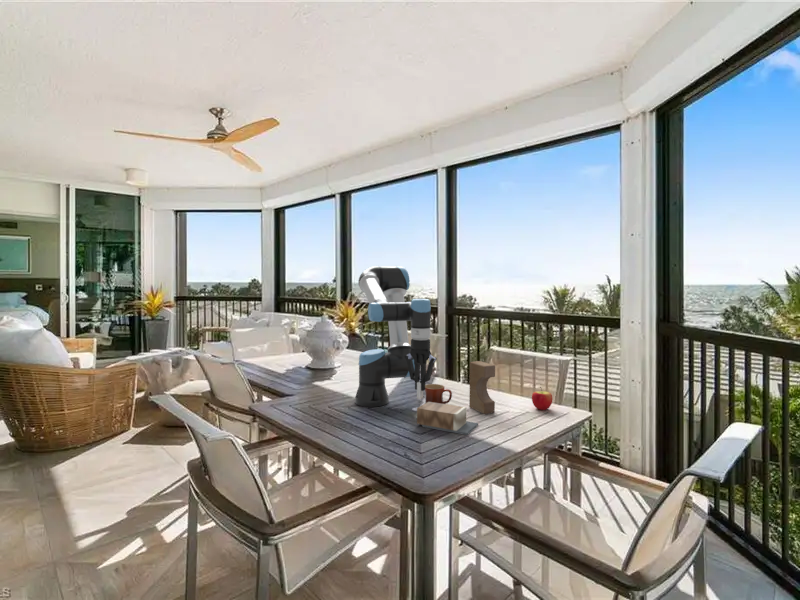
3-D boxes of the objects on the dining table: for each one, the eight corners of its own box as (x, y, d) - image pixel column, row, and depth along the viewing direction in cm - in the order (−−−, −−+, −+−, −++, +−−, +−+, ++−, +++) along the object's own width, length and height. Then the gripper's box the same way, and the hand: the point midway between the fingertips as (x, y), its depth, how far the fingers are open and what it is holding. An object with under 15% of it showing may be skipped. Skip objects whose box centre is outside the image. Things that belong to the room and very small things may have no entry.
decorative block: (495, 412, 185) (495, 365, 184) (483, 414, 183) (484, 366, 181) (479, 405, 195) (480, 360, 194) (468, 407, 193) (469, 361, 191)
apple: (528, 409, 190) (528, 386, 189) (537, 405, 196) (537, 382, 196) (546, 413, 184) (547, 389, 184) (555, 408, 191) (555, 385, 190)
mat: (422, 426, 168) (422, 424, 168) (435, 417, 178) (435, 415, 178) (467, 435, 159) (467, 432, 159) (478, 425, 170) (478, 423, 170)
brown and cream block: (416, 408, 169) (456, 414, 161) (428, 401, 177) (466, 407, 170) (416, 423, 169) (456, 430, 161) (428, 416, 178) (466, 422, 170)
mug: (421, 412, 186) (421, 388, 185) (426, 406, 194) (426, 383, 193) (449, 415, 182) (449, 390, 181) (453, 409, 190) (454, 385, 189)
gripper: (401, 338, 172) (400, 398, 174) (431, 341, 166) (431, 403, 167) (409, 336, 179) (409, 393, 180) (439, 338, 172) (439, 398, 174)
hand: (420, 398), depth 174 cm, fingers closed
